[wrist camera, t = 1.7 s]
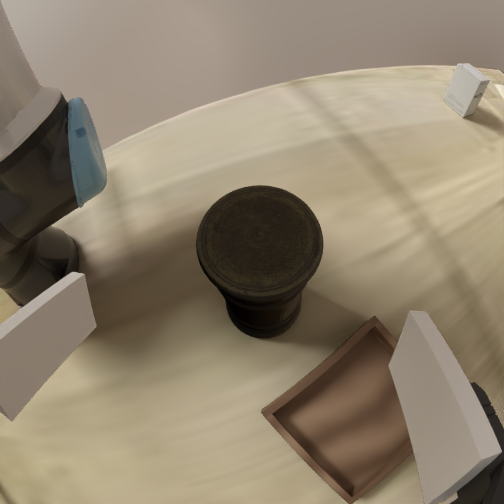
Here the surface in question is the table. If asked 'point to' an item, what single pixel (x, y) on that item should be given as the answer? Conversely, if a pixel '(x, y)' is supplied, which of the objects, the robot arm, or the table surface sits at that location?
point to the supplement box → (465, 89)
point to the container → (260, 256)
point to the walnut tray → (347, 414)
